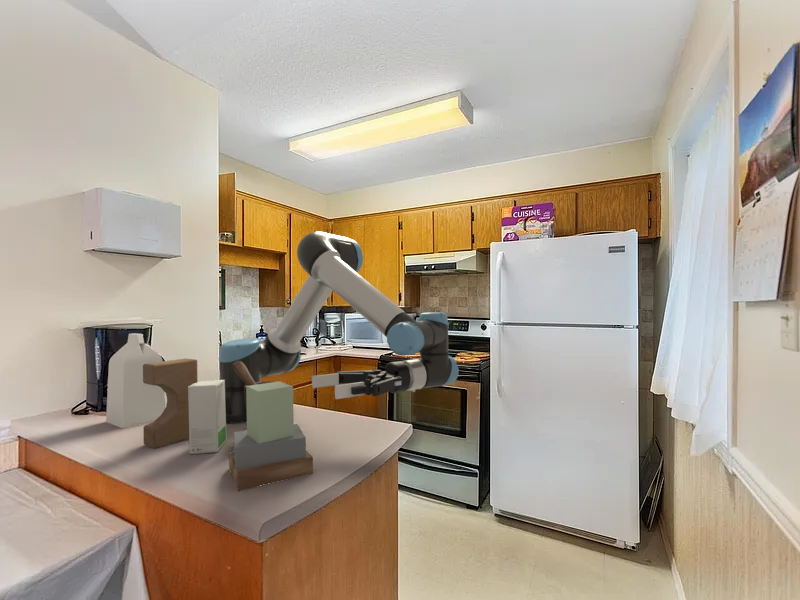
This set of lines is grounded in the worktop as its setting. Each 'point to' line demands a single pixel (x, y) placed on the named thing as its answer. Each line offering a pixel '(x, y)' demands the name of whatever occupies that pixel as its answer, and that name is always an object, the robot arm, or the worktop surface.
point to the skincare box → (207, 416)
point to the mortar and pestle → (245, 376)
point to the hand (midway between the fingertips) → (323, 386)
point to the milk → (133, 386)
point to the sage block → (269, 411)
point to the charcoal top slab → (268, 449)
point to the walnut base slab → (269, 471)
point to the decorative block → (170, 400)
